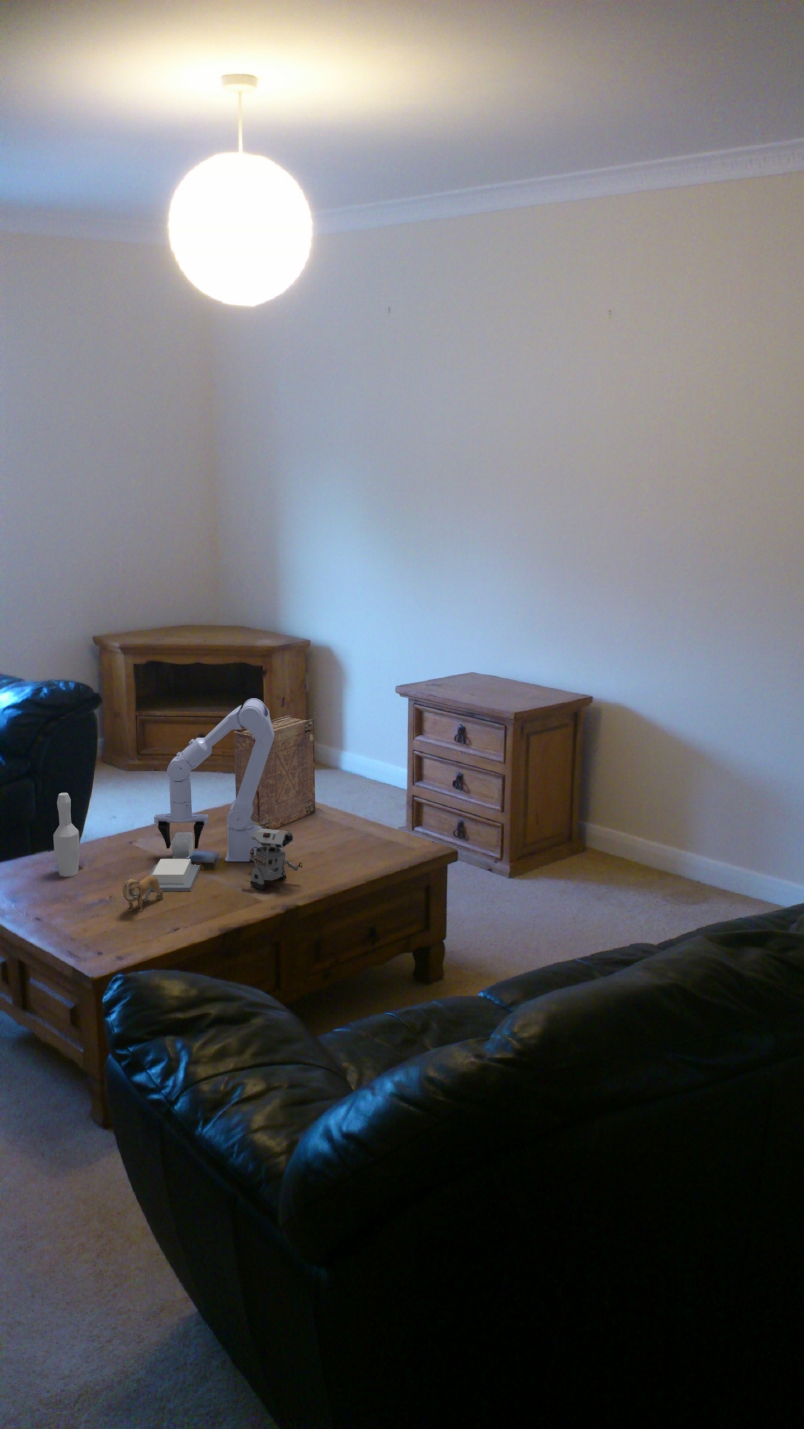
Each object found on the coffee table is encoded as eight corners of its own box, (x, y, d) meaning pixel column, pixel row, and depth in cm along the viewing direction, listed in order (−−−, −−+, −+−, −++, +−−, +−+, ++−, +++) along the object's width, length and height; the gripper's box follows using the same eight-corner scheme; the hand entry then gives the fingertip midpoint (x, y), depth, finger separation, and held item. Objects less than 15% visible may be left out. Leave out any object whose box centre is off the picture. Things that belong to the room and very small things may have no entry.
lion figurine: (137, 919, 262) (135, 883, 260) (118, 916, 263) (116, 881, 261) (168, 895, 275) (166, 862, 273) (149, 893, 277) (147, 859, 275)
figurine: (277, 896, 276) (276, 839, 272) (246, 884, 282) (244, 829, 279) (302, 885, 282) (302, 830, 279) (271, 874, 289) (270, 820, 286)
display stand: (200, 867, 294) (199, 855, 293) (190, 891, 278) (189, 878, 277) (155, 867, 293) (154, 855, 293) (142, 891, 278) (142, 878, 277)
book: (292, 807, 344) (291, 714, 336) (315, 812, 338) (314, 718, 331) (236, 829, 323) (233, 731, 316) (259, 835, 318) (257, 736, 311)
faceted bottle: (74, 878, 286) (68, 798, 280) (51, 876, 287) (45, 796, 282) (85, 870, 292) (80, 791, 286) (63, 868, 293) (58, 789, 288)
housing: (193, 852, 305) (192, 832, 303) (189, 862, 298) (188, 841, 297) (177, 852, 305) (176, 832, 303) (172, 862, 298) (171, 841, 296)
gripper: (209, 795, 301) (211, 842, 305) (156, 795, 301) (158, 842, 304) (205, 803, 295) (207, 851, 298) (151, 803, 294) (153, 851, 298)
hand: (182, 847), depth 301 cm, fingers open, 7 cm apart
